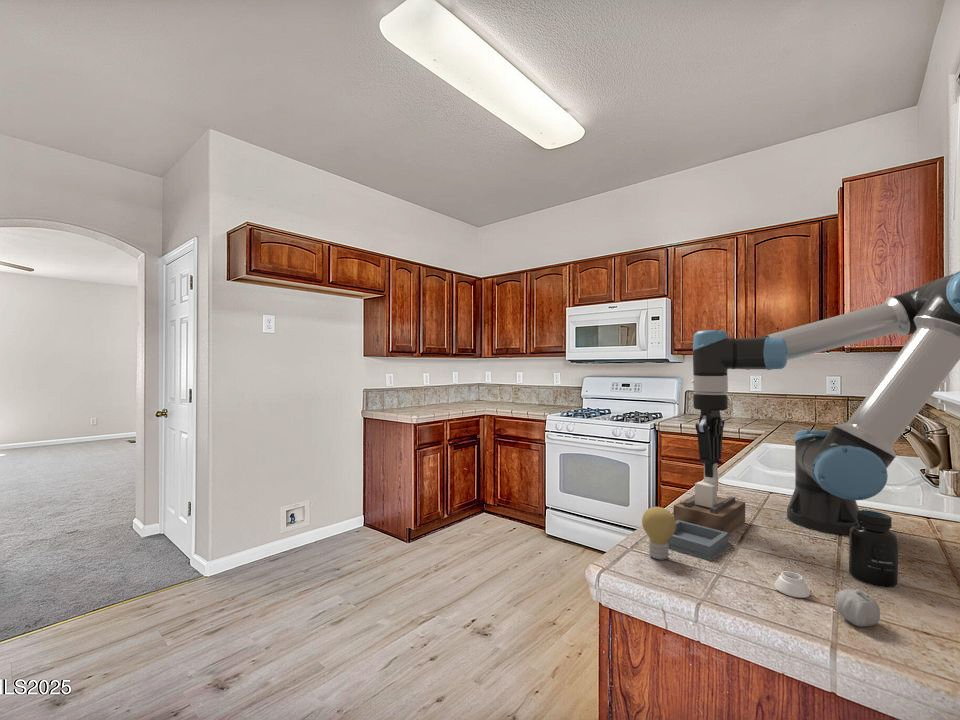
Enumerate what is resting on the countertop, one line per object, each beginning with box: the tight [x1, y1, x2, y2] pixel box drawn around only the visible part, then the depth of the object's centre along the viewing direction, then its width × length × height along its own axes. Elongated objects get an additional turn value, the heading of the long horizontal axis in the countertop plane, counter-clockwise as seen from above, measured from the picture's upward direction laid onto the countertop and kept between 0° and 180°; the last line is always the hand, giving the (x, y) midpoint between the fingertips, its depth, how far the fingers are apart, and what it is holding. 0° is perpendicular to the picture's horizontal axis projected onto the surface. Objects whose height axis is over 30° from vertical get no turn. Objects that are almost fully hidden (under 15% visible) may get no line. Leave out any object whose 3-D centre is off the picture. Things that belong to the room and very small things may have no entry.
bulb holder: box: [667, 520, 733, 562], centre depth 98 cm, size 12×12×3 cm
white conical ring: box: [773, 570, 811, 599], centre depth 78 cm, size 5×3×5 cm
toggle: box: [694, 481, 718, 508], centre depth 108 cm, size 4×3×5 cm
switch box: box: [673, 494, 746, 535], centre depth 110 cm, size 11×16×6 cm
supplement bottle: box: [848, 509, 900, 588], centre depth 82 cm, size 7×7×12 cm
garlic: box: [834, 588, 881, 628], centre depth 69 cm, size 6×5×5 cm
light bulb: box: [641, 506, 676, 561], centre depth 91 cm, size 6×6×10 cm
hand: (710, 489), depth 110 cm, fingers closed
